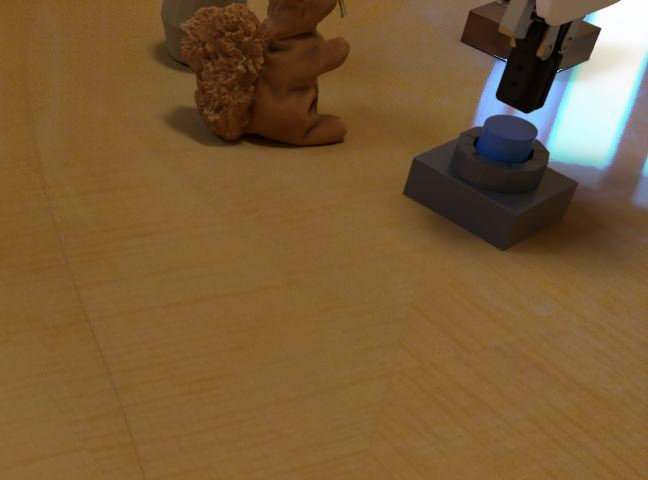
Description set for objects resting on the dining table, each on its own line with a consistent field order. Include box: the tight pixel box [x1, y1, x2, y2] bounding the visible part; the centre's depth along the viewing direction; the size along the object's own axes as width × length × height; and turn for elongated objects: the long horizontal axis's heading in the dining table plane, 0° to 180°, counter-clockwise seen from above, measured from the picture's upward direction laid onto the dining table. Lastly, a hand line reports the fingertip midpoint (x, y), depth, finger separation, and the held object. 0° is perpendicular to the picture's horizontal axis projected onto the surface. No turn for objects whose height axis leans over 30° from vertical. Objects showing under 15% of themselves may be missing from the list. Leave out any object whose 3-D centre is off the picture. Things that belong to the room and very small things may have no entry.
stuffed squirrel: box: [179, 0, 351, 146], centre depth 83 cm, size 10×14×13 cm
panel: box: [460, 0, 602, 70], centre depth 99 cm, size 10×9×3 cm
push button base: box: [402, 125, 579, 252], centre depth 79 cm, size 10×8×5 cm
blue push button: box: [476, 114, 539, 163], centre depth 76 cm, size 4×4×2 cm
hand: (518, 103), depth 74 cm, fingers closed
